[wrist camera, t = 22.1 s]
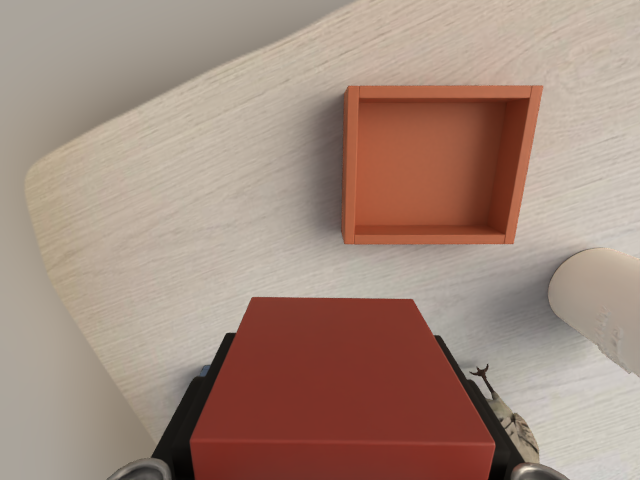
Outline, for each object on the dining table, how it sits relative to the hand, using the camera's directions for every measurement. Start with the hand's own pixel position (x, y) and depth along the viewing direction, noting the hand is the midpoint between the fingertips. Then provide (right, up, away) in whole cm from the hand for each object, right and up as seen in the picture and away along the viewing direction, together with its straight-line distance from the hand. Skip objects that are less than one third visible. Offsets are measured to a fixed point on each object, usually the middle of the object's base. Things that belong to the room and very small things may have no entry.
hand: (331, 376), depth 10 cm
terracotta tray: (+8, +11, +17) cm, 22 cm away
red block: (0, 0, +1) cm, 1 cm away
